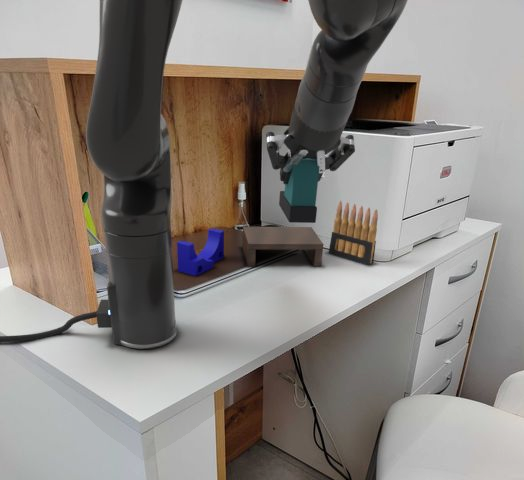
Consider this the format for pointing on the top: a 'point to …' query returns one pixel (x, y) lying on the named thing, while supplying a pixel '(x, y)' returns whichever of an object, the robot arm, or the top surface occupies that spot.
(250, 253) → the walnut shelf
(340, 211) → the ammunition clip
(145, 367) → the top surface
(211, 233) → the blue u-shaped cradle
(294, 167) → the teal block on base
